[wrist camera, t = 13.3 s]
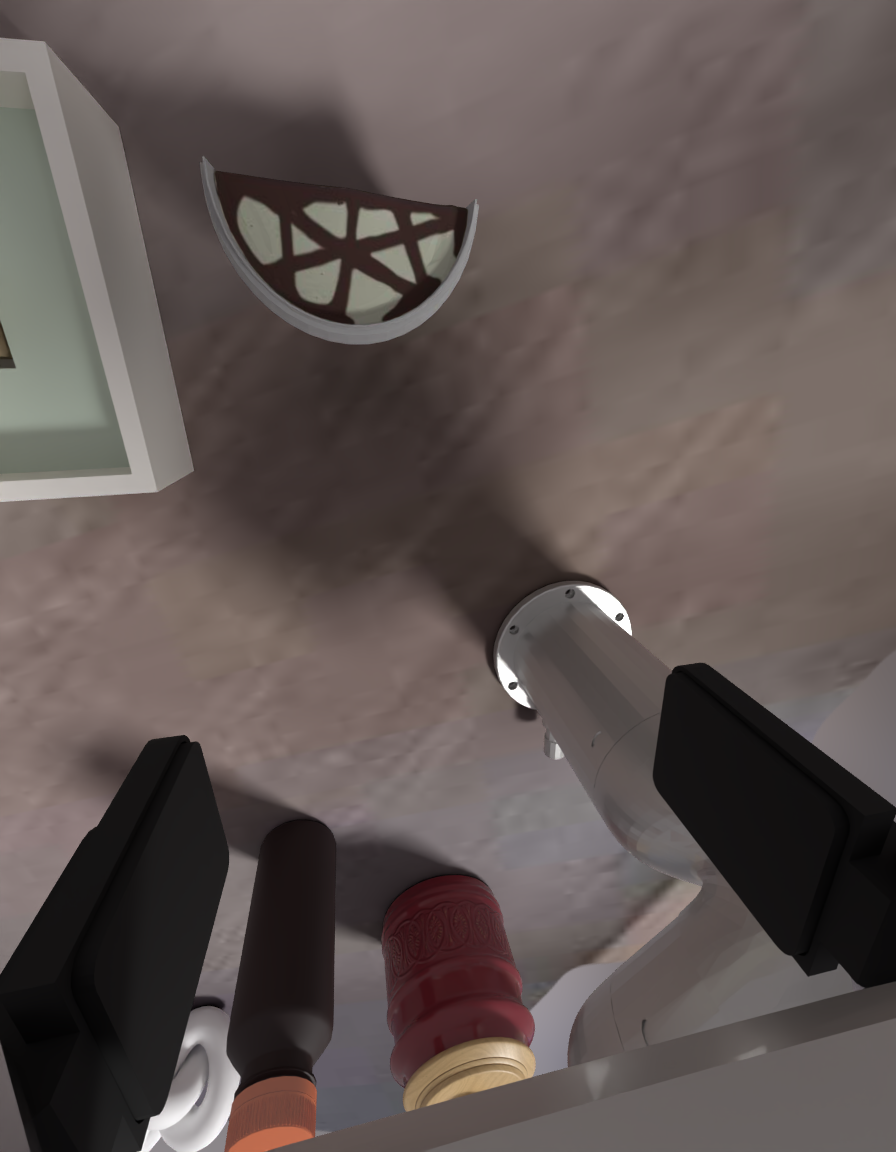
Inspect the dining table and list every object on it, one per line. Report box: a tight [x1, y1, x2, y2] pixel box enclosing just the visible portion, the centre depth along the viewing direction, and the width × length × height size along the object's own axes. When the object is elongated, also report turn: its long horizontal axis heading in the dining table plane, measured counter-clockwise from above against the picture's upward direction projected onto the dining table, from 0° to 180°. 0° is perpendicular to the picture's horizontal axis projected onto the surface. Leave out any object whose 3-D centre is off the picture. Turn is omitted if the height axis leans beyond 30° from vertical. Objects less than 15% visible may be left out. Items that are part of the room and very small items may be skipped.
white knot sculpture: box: [139, 1006, 240, 1152], centre depth 48 cm, size 11×12×9 cm
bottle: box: [225, 820, 336, 1152], centre depth 36 cm, size 7×7×20 cm
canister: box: [381, 875, 535, 1112], centre depth 45 cm, size 13×13×18 cm
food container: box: [199, 156, 479, 344], centre depth 26 cm, size 12×6×10 cm, turn 86°
